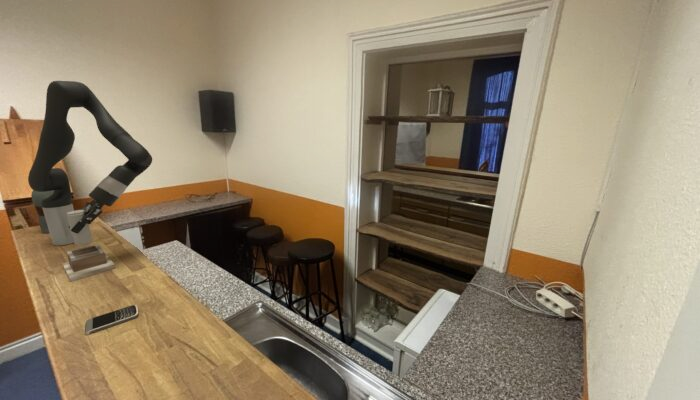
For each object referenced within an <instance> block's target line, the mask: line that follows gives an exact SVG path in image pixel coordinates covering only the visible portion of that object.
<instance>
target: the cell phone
mask: <svg viewBox="0 0 700 400" xmlns="http://www.w3.org/2000/svg"><path fill="white" fill-rule="evenodd" d="M138 316H139V309H138V305H136V304H132V305H128V306H125V307H122V308H119V309H116V310H113V311H109V312H107V313H104V314H101V315H97V316H94V317H92V318H91V317H90V318H88V319H87V320H86V322H85V323H84V324H85V325H84V336H85V335H87V336H88V335H91V334H94V333H96V332H100V331H103V330H105V329H108V328H111V327H114V326H117V325H119V324H123V323H125V322H128V321H131V320H134V319H136V318H137V317H138Z"/></svg>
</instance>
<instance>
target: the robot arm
mask: <svg viewBox="0 0 700 400" xmlns="http://www.w3.org/2000/svg"><path fill="white" fill-rule="evenodd" d="M45 97H46V99H45V112H44V119H43V124H42V129H41V132H40V136H39V140H38V146H37V151H36V154H35V157H34V160H33V163H32V165H31V167H30V170H29V173H28V176H27V177H28V178H27V179H28V181H27V182H28V186H29V187H30V189H32V191H33V190H34V191H37V192H46V191H52V190H54V193H53V194H52V195H51V196H49V197H48V198H46V199H44V200H42V201H41V205H42V208H43V212H44V215H45V219H46V222H47V226H48V229H49V233H48V234H49V235H50V240H51V243H52V245H53V246H59V247H60V246H66V245H71V244H75V243H74V240H73V236H72V233H71V231H72V232H74V233H79V232H80V231H81V230H82V229H83V228H84V226H85V225H87V224H89V225H90V224H92V223H93V222H94V221H95V219H97V218H98V217H99V216H101V214H102V213H103V209H102V208H103V207H104V206H107V207H112V206H113V205H114V204H115V203H116V202H117V201H118V199H119V198H120V197H121V196H122V194H124V192H125V191H126V190H127V188H128V187H129V186H130V185H131V184H132V182H133V181H134V180H135V179H136V178H137V177H138V176H140V175H141V174H143V173H144V172H145V171H146V170H147V169H148V168H149V167H150V166H151V164H152V163H153V157H152V155H151V154H150V152H149V151H148V150H147V149H146V147H144V146H143V144H141V143H140V142H138V141H137V140H136V139H134V138H133V137H132V135H131V134H130V133H129V132H128V131H127V130H126V129H125V128H123V127H122V126H121V125H120V124H119V123H118V122H117V121H116V120H115V118H114V117H113V116H112V115H111V113H109V111H108V110H107V109H106V107H105V106H104V105H103V103H102V102H101V101H100V100H99V98H98V97H97V96H96V94H95V93H94V92H93V91H92V90H91V89H90V87H88V86H87V84H85V83H82V82H80V81H73V80H54V81H53V80H52V81H51V82H49V85H48V86H47V89H46V95H45ZM71 108H84V109H85V110H87V112H89V113H90V114H91V115H92V116H93V118H94V119H95V122H96V126H97V129H98V132H99V133H100V134H101V136H102V137H103V138H104V139H105V140H106V141H108V143H110V144H111V145H112V146H113V147H114V148H116V149H117V150H118V151H119V152H120V153H122V154H123V156H125V158H126V159H127V161H125V163H123V164H122V165H121V164H120V165H117V166H116V167H114V168H113V169H112V171H111V172H109V174H108V175H107V176H106V177H104V178H103V179H102V180H101V181H100V182H98V184H97V185H96V186H95V187H94V188H93V190H91V192H90V193H88V197H89V198H91V199H92V200H91V201H90V202H89V201H87V202H85V204H84V205H83V206H82V207H81V209H80V210H84V212H83V214H82V218H81V219H80V220H79V221H78V222H77V224H76V225H75V226H74V227H73V228H72V229H70V226H69V222H68V219H67V212H70V211H75V209H74V205H73V202H72V199H73V195H72V190H71V184H70V180H69V176H68V174H67V172H66V171H65V170H64V169H62V168H60V167H55V166H56V165H57V164H58V163H60V161H62V160H63V159H64V158H66V157H67V156H68V155H69V154H70V153H71V151H72V149H73V147H74V143H75V138H76V135H75V132H74V131H73V129H72V127H71V126H70V124H69V123H68V113H69V110H70V109H71ZM53 167H54V168H53Z"/></svg>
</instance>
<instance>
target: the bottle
mask: <svg viewBox="0 0 700 400" xmlns="http://www.w3.org/2000/svg"><path fill="white" fill-rule="evenodd" d="M53 193H54V190H52V191H46V192H37V191H34V190H33V189H32V192H31V195H30V196H31V202H32V203H33V205H34V208H35V211H36V213H37V217H38V226H39V228H40V230H41V232H42V233H43V234H50V233H49V229H48V226H47V222H46V219H45V215H44V212H43V208H42V205H41V201H42V200H44V199H46V198H48V197H49V196H51V195H52V194H53Z"/></svg>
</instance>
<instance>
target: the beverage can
mask: <svg viewBox="0 0 700 400" xmlns="http://www.w3.org/2000/svg"><path fill="white" fill-rule="evenodd" d="M83 212H84V210H81V209H76V210H75V209H74V211H70V212H67V219H68V222H69V226H70V229H72V228H73V227H74V226H75V225H76V224H77V222H78V221H79V220H80V219H81V218H82V214H83ZM71 233H72V236H73V240H74V243H73V244H74V245H76V246H86V245H89V244H91V243H92V242H93V237H92V231H91V228H90V224H87V225H85V226H84V228H83V229H82V230H81V231H80V232H79V233H74V232H72V231H71Z"/></svg>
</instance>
